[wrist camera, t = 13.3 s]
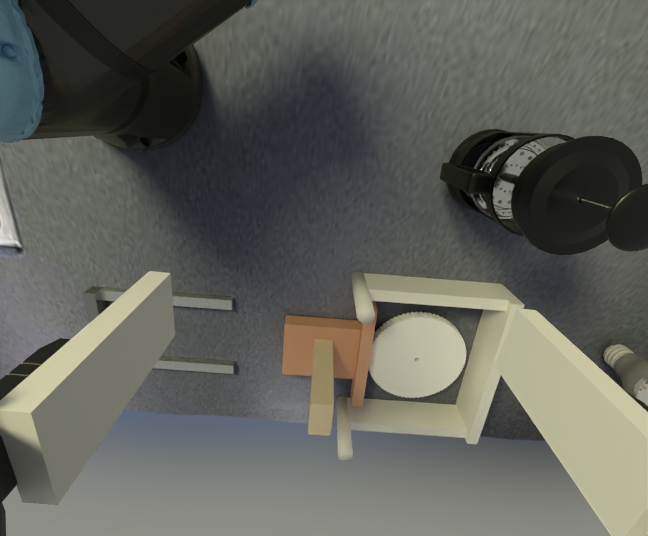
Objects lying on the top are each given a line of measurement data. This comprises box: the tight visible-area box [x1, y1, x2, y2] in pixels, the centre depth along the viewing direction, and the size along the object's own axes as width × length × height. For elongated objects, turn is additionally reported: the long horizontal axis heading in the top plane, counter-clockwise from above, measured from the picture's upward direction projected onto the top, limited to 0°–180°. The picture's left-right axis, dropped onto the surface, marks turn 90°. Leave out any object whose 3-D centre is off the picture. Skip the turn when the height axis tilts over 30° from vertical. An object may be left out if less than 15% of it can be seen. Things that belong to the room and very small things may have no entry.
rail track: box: [83, 286, 235, 374], centre depth 50 cm, size 20×12×2 cm, turn 85°
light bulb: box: [603, 344, 648, 406], centre depth 46 cm, size 7×7×12 cm
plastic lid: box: [369, 312, 467, 398], centre depth 51 cm, size 14×14×2 cm
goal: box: [336, 271, 524, 461], centre depth 47 cm, size 20×24×10 cm
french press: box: [440, 129, 648, 255], centre depth 31 cm, size 12×9×23 cm
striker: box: [282, 301, 378, 436], centre depth 44 cm, size 12×16×14 cm
